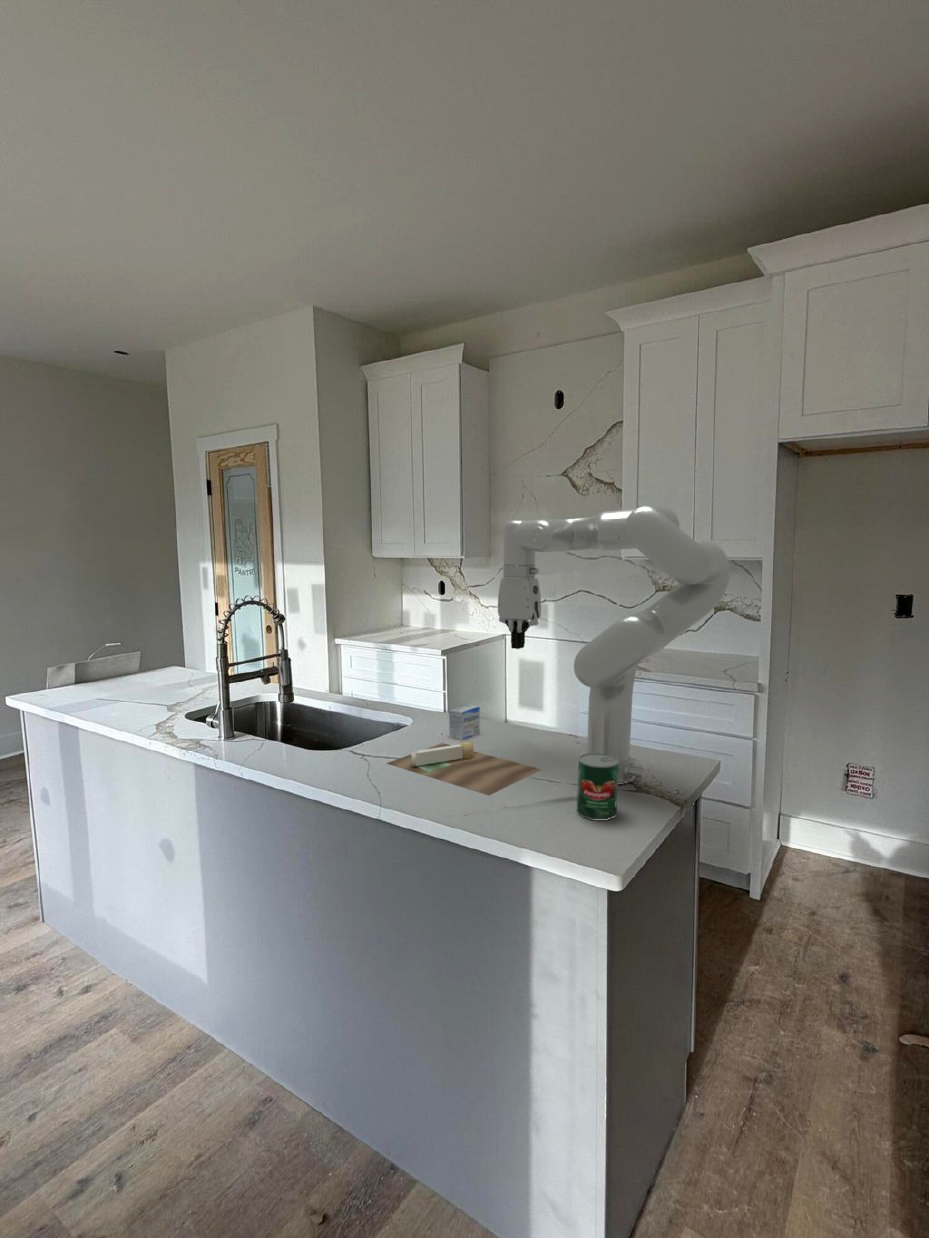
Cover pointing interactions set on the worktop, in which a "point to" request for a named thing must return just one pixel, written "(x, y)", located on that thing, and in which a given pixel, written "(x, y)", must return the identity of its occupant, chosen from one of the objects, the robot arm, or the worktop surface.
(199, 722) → the worktop surface
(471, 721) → the medicine box
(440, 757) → the pointer
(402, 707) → the worktop surface
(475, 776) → the dial board
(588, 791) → the canned tomato
